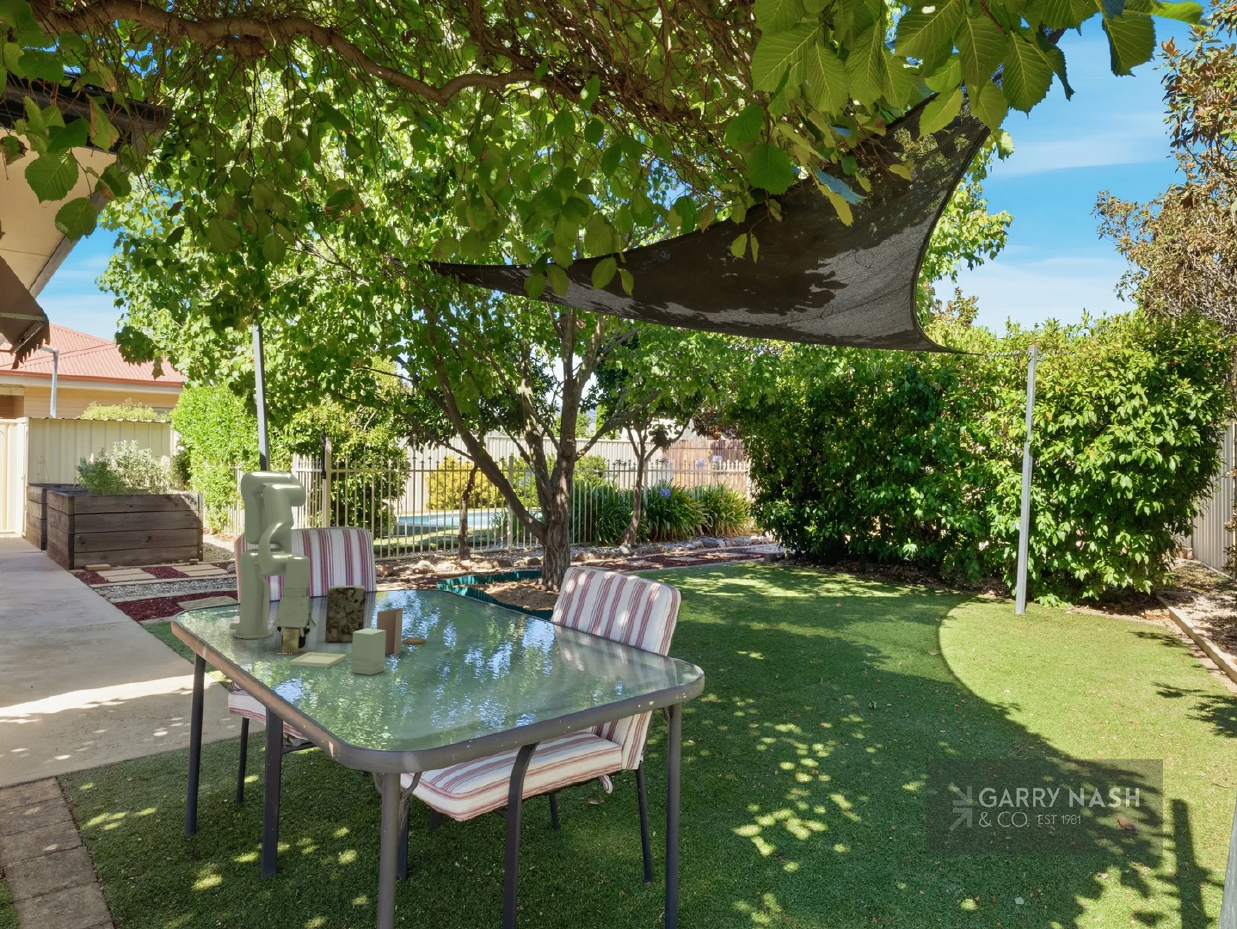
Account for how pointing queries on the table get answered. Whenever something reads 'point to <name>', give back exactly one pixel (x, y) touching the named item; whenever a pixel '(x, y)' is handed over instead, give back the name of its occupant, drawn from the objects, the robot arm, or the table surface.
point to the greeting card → (391, 629)
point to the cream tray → (318, 660)
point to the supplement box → (368, 651)
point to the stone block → (344, 612)
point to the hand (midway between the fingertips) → (293, 646)
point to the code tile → (292, 653)
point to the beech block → (291, 640)
